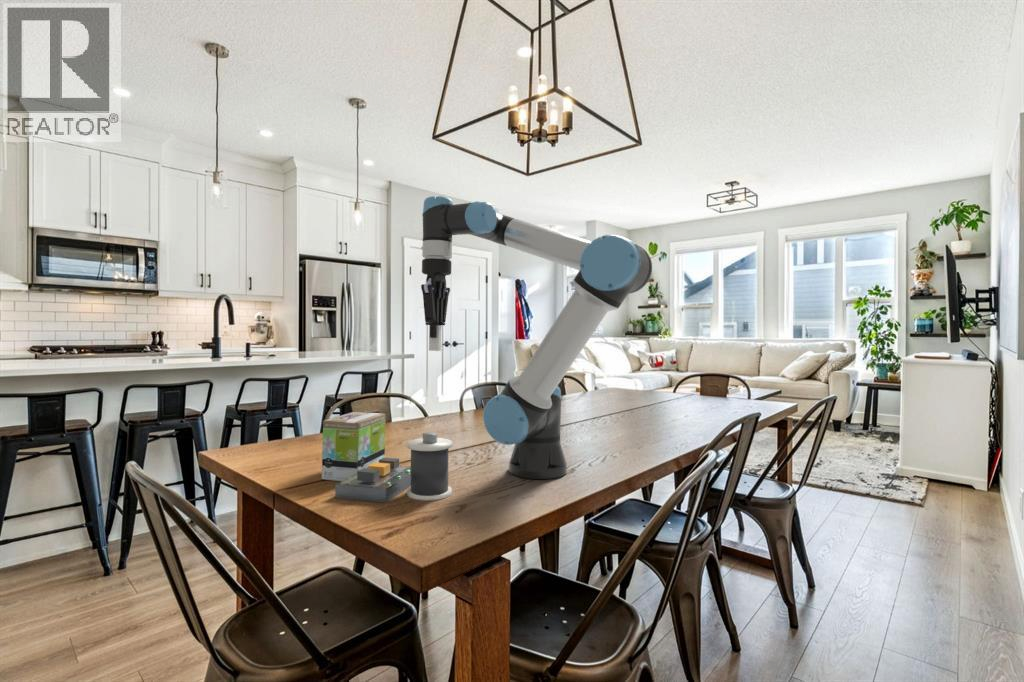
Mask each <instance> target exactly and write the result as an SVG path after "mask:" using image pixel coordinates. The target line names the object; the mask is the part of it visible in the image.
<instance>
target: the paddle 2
mask: <svg viewBox="0 0 1024 682" xmlns="http://www.w3.org/2000/svg"><path fill="white" fill-rule="evenodd" d="M379 463H389V464H390V469H392V470H395V469H396V468H398V467H400V458H394V457H385V458H382V459H380V460H379Z"/></svg>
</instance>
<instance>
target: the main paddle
mask: <svg viewBox="0 0 1024 682" xmlns="http://www.w3.org/2000/svg"><path fill="white" fill-rule="evenodd" d="M368 469H378V470H379V476H384V475H386V474H388V473H390V464H389V463H376V462H374V463H373V464H371V465H369V466H368Z"/></svg>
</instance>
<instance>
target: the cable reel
mask: <svg viewBox="0 0 1024 682" xmlns="http://www.w3.org/2000/svg"><path fill="white" fill-rule="evenodd" d="M406 443H407V444H406V445H407V447H406V448H407V449H409V450H410V468H411V486H409V487H408V488H407V489H406V496H407V497H408V498H410V499H411V500H416V501H424V502H428V501H432V502H433V501H438V500H443V499H447V498H448V497H450V496H451V495H452V491H453V489H452V487H451V486H450V485H449V452H450V451H449V449H450V448H452V447H453V441H452V440H450V439H448V438H444V437H438V433H437V432H435V431H434V432H433V431H428V432H427V431H426V432H423V433H422V437H421V438H414V439H411V440H409V441H407V442H406Z"/></svg>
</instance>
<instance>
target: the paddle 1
mask: <svg viewBox="0 0 1024 682" xmlns="http://www.w3.org/2000/svg"><path fill="white" fill-rule="evenodd" d="M378 479H379V470H378V469H365V468H363V469H361V470H359V471H357V480H358V481H369V482H374V481H376V480H378Z"/></svg>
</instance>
